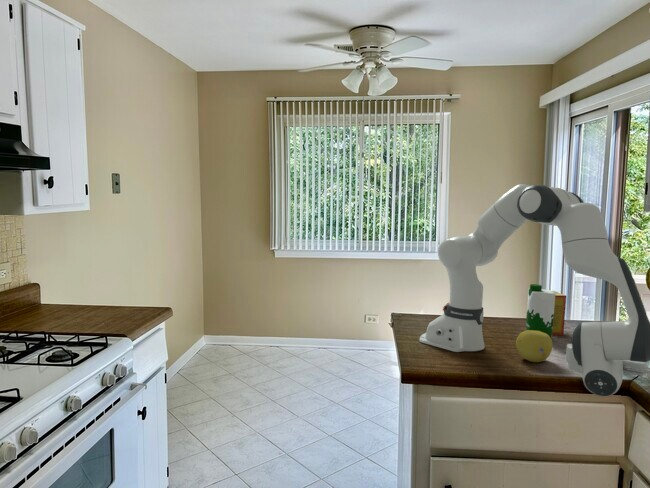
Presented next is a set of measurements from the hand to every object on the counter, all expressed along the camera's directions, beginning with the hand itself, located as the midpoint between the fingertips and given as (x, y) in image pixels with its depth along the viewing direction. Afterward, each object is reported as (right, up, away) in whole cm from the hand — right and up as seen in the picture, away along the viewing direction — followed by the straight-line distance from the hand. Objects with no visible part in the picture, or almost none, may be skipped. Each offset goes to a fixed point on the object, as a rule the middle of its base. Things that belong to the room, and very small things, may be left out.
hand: (606, 351), depth 135 cm
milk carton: (-3, -3, +37) cm, 37 cm away
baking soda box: (+5, -3, +45) cm, 45 cm away
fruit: (-17, -6, +11) cm, 21 cm away
